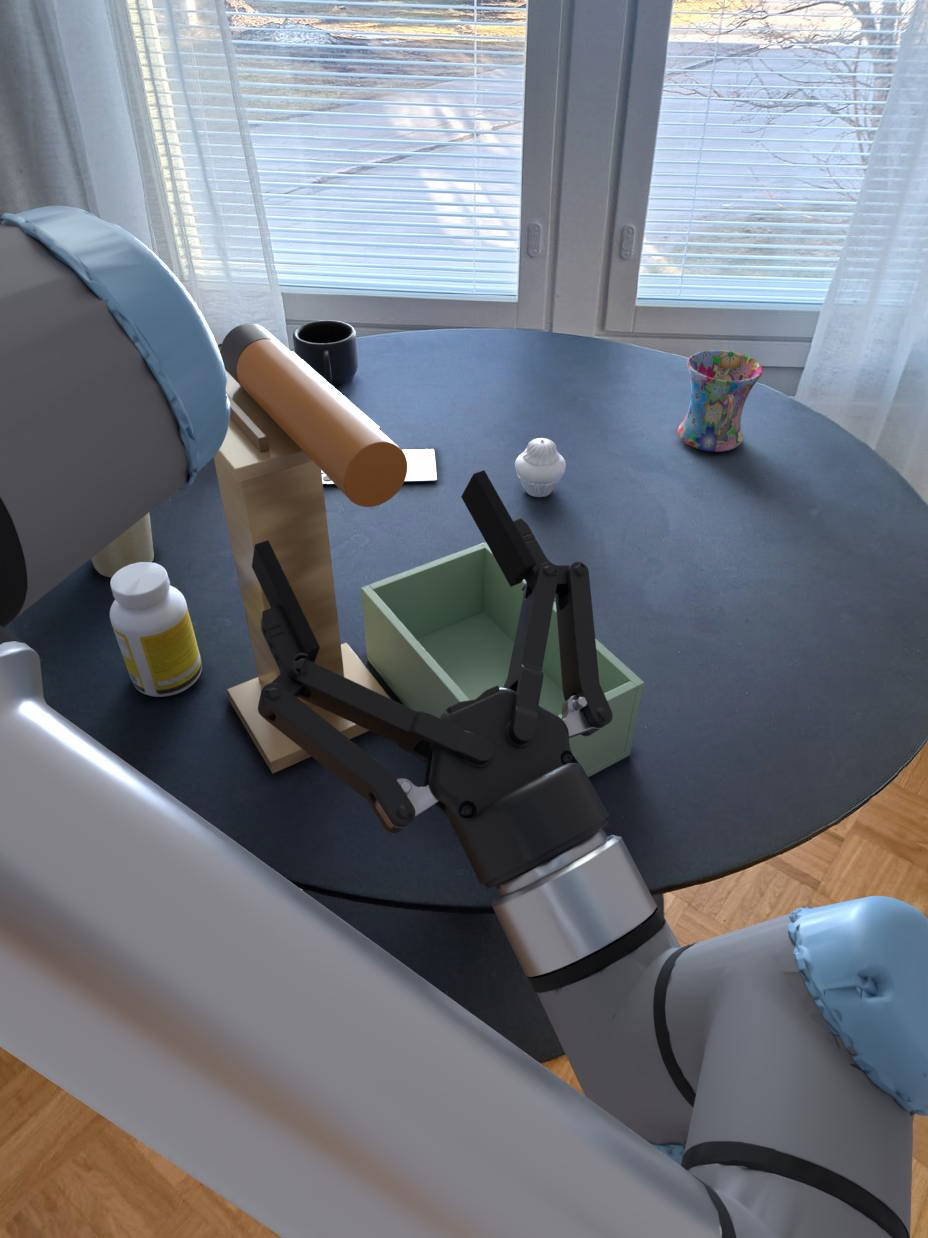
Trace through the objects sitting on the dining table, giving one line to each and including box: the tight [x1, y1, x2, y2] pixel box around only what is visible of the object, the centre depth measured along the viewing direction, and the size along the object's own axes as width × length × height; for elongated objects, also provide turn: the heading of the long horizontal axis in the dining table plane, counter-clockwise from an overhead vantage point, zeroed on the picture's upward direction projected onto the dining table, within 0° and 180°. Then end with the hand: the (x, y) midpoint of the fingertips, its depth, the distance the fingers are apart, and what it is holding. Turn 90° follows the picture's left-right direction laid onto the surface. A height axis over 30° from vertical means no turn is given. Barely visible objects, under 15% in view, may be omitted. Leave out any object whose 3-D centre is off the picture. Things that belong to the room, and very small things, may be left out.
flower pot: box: [90, 512, 155, 578], centre depth 92 cm, size 9×9×9 cm
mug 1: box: [292, 319, 359, 387], centre depth 126 cm, size 12×9×7 cm
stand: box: [213, 350, 392, 774], centre depth 68 cm, size 12×14×31 cm
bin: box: [360, 541, 645, 778], centre depth 76 cm, size 14×23×9 cm, turn 32°
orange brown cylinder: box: [220, 323, 407, 508], centre depth 54 cm, size 4×19×4 cm, turn 32°
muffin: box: [514, 437, 567, 498], centre depth 104 cm, size 6×6×7 cm
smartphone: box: [321, 448, 438, 487], centre depth 110 cm, size 8×1×16 cm
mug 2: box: [677, 349, 764, 453], centre depth 112 cm, size 12×9×11 cm
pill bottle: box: [109, 562, 203, 698], centre depth 78 cm, size 6×6×12 cm
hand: (371, 515), depth 50 cm, fingers open, 13 cm apart
